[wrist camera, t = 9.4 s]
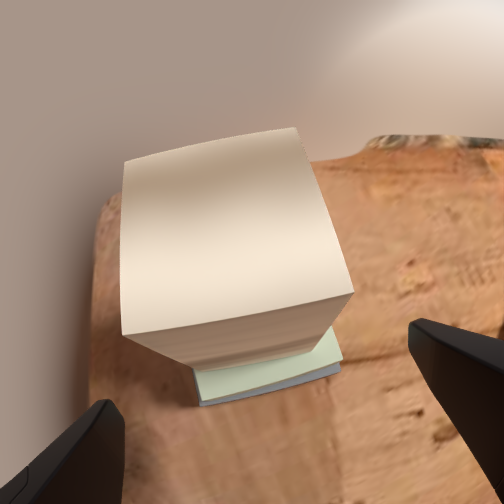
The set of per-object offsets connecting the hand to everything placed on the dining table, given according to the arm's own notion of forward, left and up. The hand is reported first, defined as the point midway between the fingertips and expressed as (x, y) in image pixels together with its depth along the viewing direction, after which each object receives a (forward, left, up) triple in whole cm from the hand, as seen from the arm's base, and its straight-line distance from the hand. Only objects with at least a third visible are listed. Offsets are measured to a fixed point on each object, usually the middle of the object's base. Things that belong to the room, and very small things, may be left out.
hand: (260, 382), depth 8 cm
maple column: (+4, +2, -9) cm, 10 cm away
